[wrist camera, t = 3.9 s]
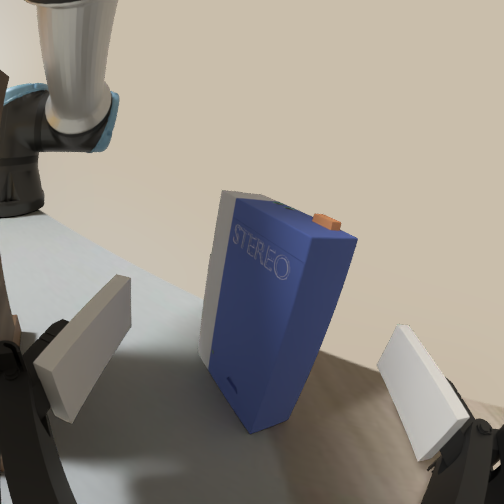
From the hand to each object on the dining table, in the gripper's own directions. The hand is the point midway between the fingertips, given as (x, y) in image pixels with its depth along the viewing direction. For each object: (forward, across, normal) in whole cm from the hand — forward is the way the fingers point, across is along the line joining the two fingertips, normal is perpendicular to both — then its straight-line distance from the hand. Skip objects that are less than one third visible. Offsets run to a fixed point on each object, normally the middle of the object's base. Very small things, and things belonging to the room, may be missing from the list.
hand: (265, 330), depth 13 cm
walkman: (+2, 0, -7) cm, 7 cm away
